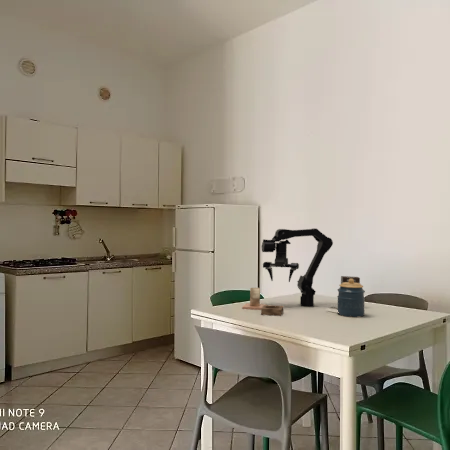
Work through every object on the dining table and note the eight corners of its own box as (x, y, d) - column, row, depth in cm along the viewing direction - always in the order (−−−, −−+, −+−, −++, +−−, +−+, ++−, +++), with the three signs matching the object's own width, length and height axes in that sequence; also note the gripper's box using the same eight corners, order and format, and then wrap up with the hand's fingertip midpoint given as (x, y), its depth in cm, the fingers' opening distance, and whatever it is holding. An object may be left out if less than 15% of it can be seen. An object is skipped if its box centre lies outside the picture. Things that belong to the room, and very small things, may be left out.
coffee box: (341, 307, 234) (342, 277, 234) (339, 305, 240) (340, 276, 240) (359, 308, 233) (360, 277, 233) (357, 306, 239) (357, 276, 239)
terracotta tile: (266, 306, 233) (266, 304, 233) (263, 310, 222) (263, 308, 222) (246, 305, 236) (246, 303, 236) (242, 308, 225) (242, 306, 225)
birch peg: (261, 305, 229) (261, 288, 229) (255, 306, 225) (255, 289, 225) (254, 304, 232) (254, 287, 232) (248, 305, 229) (248, 288, 229)
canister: (345, 317, 207) (346, 280, 207) (332, 312, 219) (332, 277, 220) (370, 316, 210) (370, 279, 210) (355, 311, 223) (355, 276, 223)
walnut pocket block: (283, 312, 218) (283, 306, 218) (280, 315, 209) (281, 309, 209) (264, 310, 220) (264, 304, 220) (261, 314, 211) (261, 308, 211)
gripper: (261, 252, 230) (260, 282, 230) (297, 253, 225) (296, 284, 225) (264, 251, 241) (264, 280, 241) (299, 252, 236) (298, 281, 236)
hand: (280, 281), depth 236 cm, fingers open, 9 cm apart
